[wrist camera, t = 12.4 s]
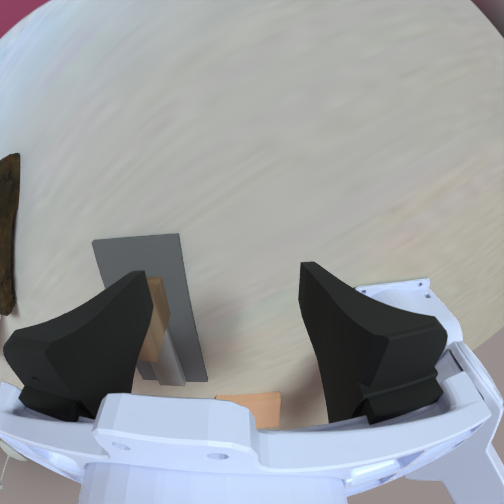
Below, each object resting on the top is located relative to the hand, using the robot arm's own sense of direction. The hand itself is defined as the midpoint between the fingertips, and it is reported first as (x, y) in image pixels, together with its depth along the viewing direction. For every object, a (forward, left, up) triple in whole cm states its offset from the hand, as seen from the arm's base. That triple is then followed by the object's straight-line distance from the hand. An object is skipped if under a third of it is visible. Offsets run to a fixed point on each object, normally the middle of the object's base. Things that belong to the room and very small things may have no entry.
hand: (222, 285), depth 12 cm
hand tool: (+25, -1, -10) cm, 27 cm away
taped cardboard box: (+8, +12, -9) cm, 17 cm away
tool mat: (+8, +10, -9) cm, 16 cm away
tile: (0, +23, -9) cm, 25 cm away
